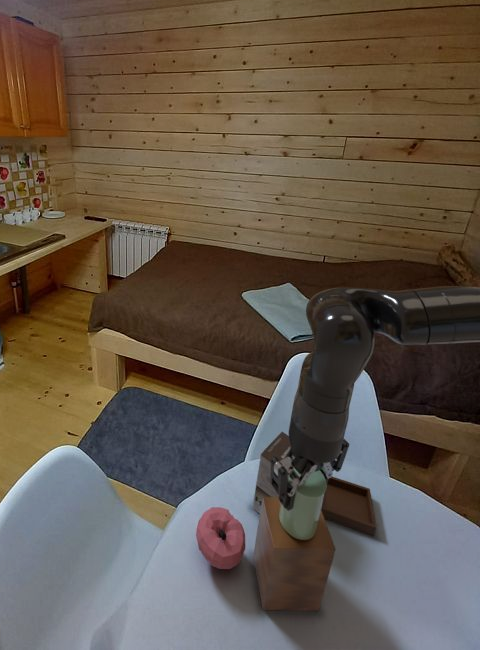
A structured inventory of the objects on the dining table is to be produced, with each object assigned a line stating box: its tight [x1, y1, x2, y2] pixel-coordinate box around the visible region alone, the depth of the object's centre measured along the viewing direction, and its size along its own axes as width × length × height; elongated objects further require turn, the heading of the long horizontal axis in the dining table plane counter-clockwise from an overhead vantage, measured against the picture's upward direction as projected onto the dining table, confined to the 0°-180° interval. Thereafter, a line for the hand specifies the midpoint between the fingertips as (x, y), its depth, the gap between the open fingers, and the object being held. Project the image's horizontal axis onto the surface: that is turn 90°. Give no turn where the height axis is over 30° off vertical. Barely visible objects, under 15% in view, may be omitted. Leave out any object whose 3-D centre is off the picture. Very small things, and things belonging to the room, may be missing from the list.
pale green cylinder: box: [279, 467, 327, 540], centre depth 57 cm, size 6×6×10 cm
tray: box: [321, 476, 377, 537], centre depth 77 cm, size 12×9×3 cm
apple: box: [195, 506, 246, 570], centre depth 66 cm, size 10×9×10 cm
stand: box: [252, 497, 337, 612], centre depth 61 cm, size 10×8×17 cm
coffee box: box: [252, 431, 291, 515], centre depth 75 cm, size 9×6×16 cm
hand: (302, 496), depth 57 cm, fingers closed on pale green cylinder, 6 cm apart
